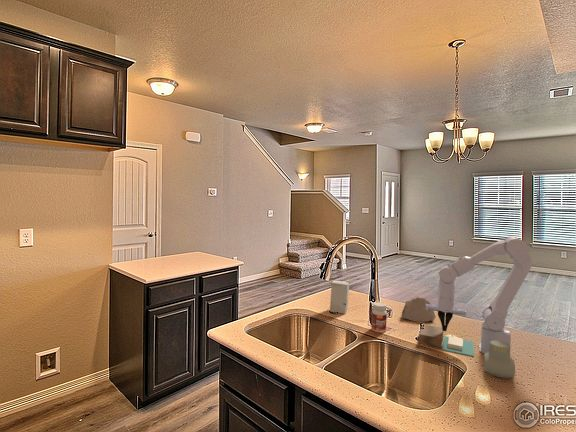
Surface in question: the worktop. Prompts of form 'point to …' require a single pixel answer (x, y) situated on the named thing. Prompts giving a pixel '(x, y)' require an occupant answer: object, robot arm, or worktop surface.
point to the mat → (467, 349)
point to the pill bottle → (379, 317)
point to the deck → (431, 336)
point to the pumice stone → (417, 310)
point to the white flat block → (455, 343)
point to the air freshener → (499, 360)
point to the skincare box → (339, 297)
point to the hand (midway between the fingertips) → (444, 330)
